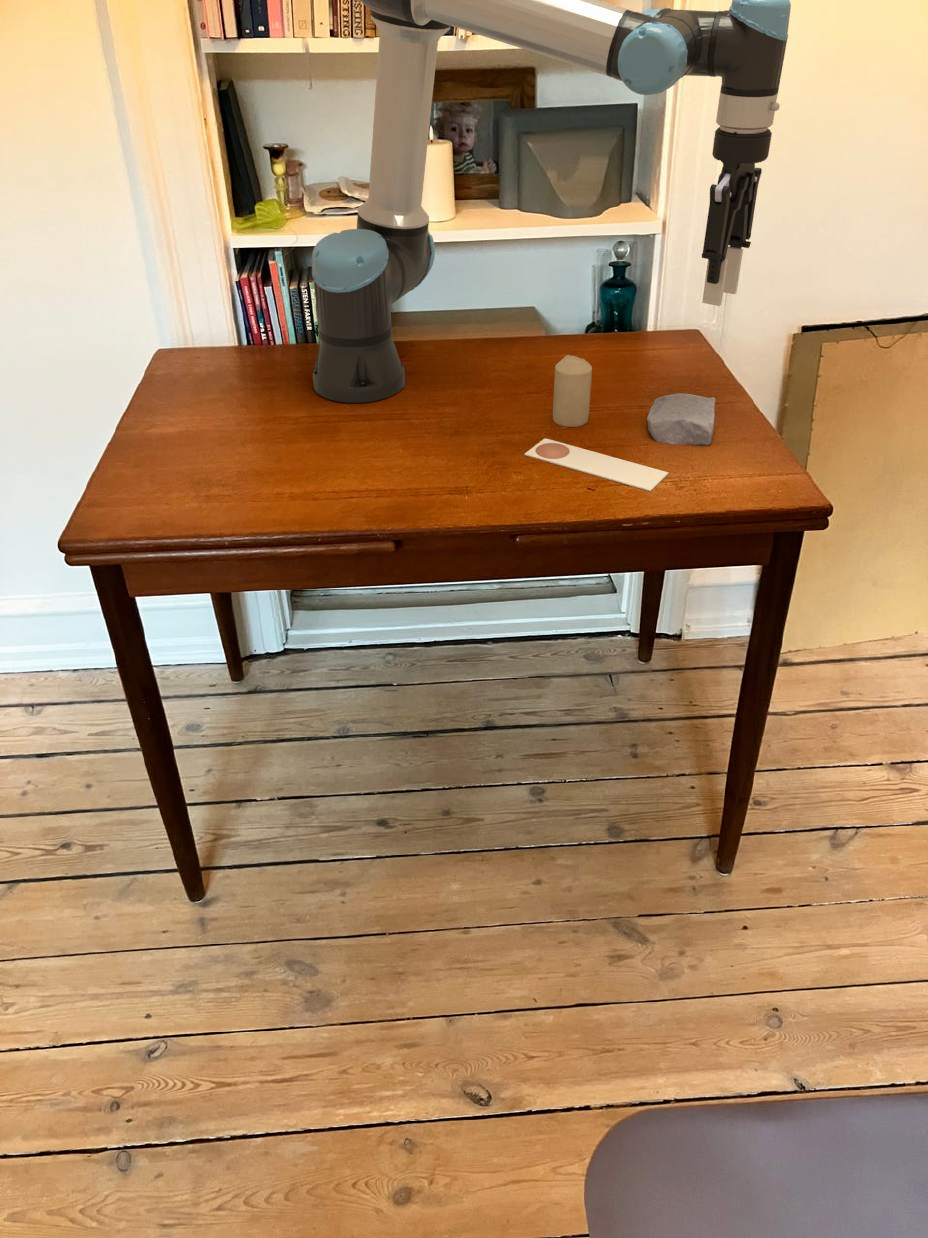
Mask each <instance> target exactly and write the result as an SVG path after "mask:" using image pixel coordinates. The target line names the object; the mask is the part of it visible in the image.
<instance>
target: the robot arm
mask: <svg viewBox="0 0 928 1238" xmlns="http://www.w3.org/2000/svg"><path fill="white" fill-rule="evenodd" d="M359 1H360V2H361V3H362V4H363V5H364V6H365V7H366V8H368V9H369V10H370V19H371V20H372V21H373V23H374V25H376V27H377V29H378V32H379V37H378V38H379V39H378V40H379V41H378V55H377V67H376V81H375V83H376V84H375V95H374V96H375V98H374V112H373V122H372V123H373V125H372V138H371V139H372V141H371V151H370V152H371V153H370V156H371V157H370V167H369V181H368V182H369V183H368V185H369V186H368V198H367V200H365V201H364V202H362V204H360V205H359V206H358V209H357V219H356V228H350V229H344V230H341V231H340V232H332V233H330V234H328V235H326V236H324V237H323V238H321V239H319V241H318V242H317V243H316V244H315V245H314V247H313V250H312V255H311V258H312V265H311V274H312V275H311V276H312V279H313V287H314V295H315V296H314V297H315V304H316V305H315V307H316V314H317V323H318V333H319V345H318V349H317V354H316V357H315V362H314V364H315V365H314V369H313V370H312V381H313V382H312V383H313V389H314V391H315V392H316V394H318V395H319V396H321V397H323V399H327V400H330V401H334V402H339V403H340V402H341V403H347V404H348V403H350V404H351V403H353V404H354V403H355V404H356V403H359V404H360V403H369V402H376V401H380V400H384V399H387V398H391V397H392V396H394V395H396V394H397V393H400V391H401V390H402V389H404V387H405V385H406V376H405V368H404V365H403V363H402V362H401V359H400V357H399V354H398V353H399V352H398V350H397V348H396V344H395V343H394V342H395V341H394V340H393V333H392V313H391V305H393V304H395V302H397V301H398V300H399V299H402V298H403V297H404V296H405V295H407V294H408V293H410V292H411V291H413V290H414V289H416V288H417V287H419V285H421V284H422V282H423V281H424V280H425V279H426V278H427V276H428V275H429V274H430V271H431V270H432V267H433V264H434V261H435V253H436V249H435V248H436V247H435V241H434V238H433V235H432V234H430V232H429V223H430V216H429V214H428V213H427V212H426V211H425V209H424V207H422V201H423V192H424V183H425V172H426V163H427V162H426V161H427V154H428V153H427V151H428V143H429V133H430V126H431V125H430V123H431V114H432V103H433V96H434V95H433V94H434V87H435V86H434V85H435V76H436V74H435V73H436V67H437V66H436V64H437V56H438V45H439V41H440V39H441V38H442V37H443V36H444V35H445V34H447V32H449V31H450V29H451V27H454V28H456V29H460V30H463V31H466V32H468V33H472V34H475V35H478V36H482V37H485V38H487V39H490V40H494V41H498V42H500V43H504V44H507V45H509V46H513V47H516V48H519V49H522V50H526V51H527V52H532V53H534V54H539V55H541V56H545V57H546V58H547V57H548V58H551V59H554V60H556V61H560V62H563V63H567V64H569V65H573V66H575V67H579V68H582V69H585V70H588V71H591V72H594V73H597V74H600V75H603V76H607V77H610V78H612V79H615V80H617V81H620V82H623V84H624V85H625V86H626V87H627V88H628V89H629V90H630V91H632V92H633V93H635V94H637V95H642V96H650V95H657V94H660V93H661V94H662V93H663V92H665V91H667V90H669V89H670V88H672V87H673V86H674V85H676V83H677V82H679V80H681V79H682V78H683V77H685V76H687V77H688V76H689V77H695V76H698V77H711V78H712V77H713V78H716V77H720V78H721V85H720V92H719V96H718V97H719V98H718V104H717V105H718V107H717V111H716V120H715V122H716V124H717V126H719V127H717V129H716V130H715V131H714V138H713V147H712V157H713V159H715V160H716V161H720V162H721V163H722V168H721V172H720V174H719V175H718V180H717V184H713V183H712V184H711V186H710V188H709V206H708V213H707V219H706V227H705V236H704V241H703V247H702V253H701V258H702V259H706V260H707V264H706V271H705V279H704V286H703V294H702V300H701V303H702V304H708V305H712V306H718V307H720V306H721V305H722V302H723V297H724V293H725V294H732V295H736V294H737V291H738V287H739V278H740V272H741V267H742V261H743V260H742V259H743V252H744V248H745V249H750V247H751V245H752V244H751V241H749V240H750V239H751V236H752V229H753V224H754V223H753V221H754V216H755V209H756V202H757V196H758V195H757V194H758V189H759V182H760V179H761V176H762V172H763V171H762V168H761V167H756V164H759V163H763V162H764V161H766V160H767V159H768V157H769V153H770V147H771V141H772V134H773V133H772V131H771V129H769V128H770V127H771V126H773V124H774V120H775V119H774V118H775V114H776V112H778V110H779V109H780V103H778V102H777V100H778V95H779V89H780V84H781V78H782V72H783V65H784V59H785V54H786V49H787V44H788V38H789V33H788V32H789V23H790V17H791V7H792V4H791V0H732V1H731V5H730V7H729V10H719V11H718V10H717V11H715V10H714V11H713V10H712V11H711V10H691V9H690V10H689V9H673V8H672V9H671V8H670V7H664V8H659V9H658V8H656V9H655V8H654V9H645V10H644V11H642V12H639V11H634V10H630V9H629V8H625V7H622V6H619V5H615V4H612V3H610V2H606V1H602V0H359Z"/></svg>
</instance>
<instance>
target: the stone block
mask: <svg viewBox="0 0 928 1238" xmlns="http://www.w3.org/2000/svg"><path fill="white" fill-rule="evenodd" d="M715 403H716V398H715V397H706V396H702V395H695V394H693V393H692V394H691V393H680V392H677V393H673V394H664V395H663V396H659V397H657V398H655V399H654V401H653V405H652V406H651V408H650V409H649V412H648V415H647V419H646V420H647V428H648V432H649V433H650V435H651V437H652V439H653V440H654V441H655V442H658V443H664V444H670V445H691V446H692V445H693V446H698V445H699V446H710V445H711V443H712V439H713V433H714V425H715V405H716V404H715Z"/></svg>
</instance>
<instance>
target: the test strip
mask: <svg viewBox="0 0 928 1238" xmlns="http://www.w3.org/2000/svg"><path fill="white" fill-rule="evenodd" d="M524 456H527V457H529V458H533V459H537V460H541V461H543V462H545V463H546V462H547V463H550V464H553V465H557V466H560V467H564V468H567V469H571V470H575V471H578V472H581V473H584V474H589V475H591V476H595V477H599V478H601V479H605V480H609V481H611V482H616V483H619V484H623V485H627V486H630V487H633V488H637V489H640V490H643V491H647V492H652V491H653V490H654V488H656V487H657V485H659V484H660V483H661V482H662V481H663V480H664V479H665V478H666V477H667V476H669V474H670V473H669V472H667V471H665V470H661V469H657V468H655V467H650V466H646V465H643V464H640V463H636V462H632V461H628V460H626V459H621V458H617V457H614V456H611V455H607V454H603V453H600V452H596V451H592V450H588V449H584V448H582V447H578V446H575V445H571V444H567V443H564V442H561V441H558V440H557V441H556V440H553V439H550V438H543V439H542V440H540V441H539V442H538V443H537V444H535V445H534V446H533V447H531V448H530V449H529V450H528V451H526V452H525V453H524Z"/></svg>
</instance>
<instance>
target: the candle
mask: <svg viewBox="0 0 928 1238" xmlns="http://www.w3.org/2000/svg"><path fill="white" fill-rule="evenodd" d="M592 371H593V366H592V365H591V364H590V363H589V362H588V361H587V360H586V359H584V358H583V357H582V358H580V357H578V356H575V355H569V354H566V355H565V356H564V357H563V358H562V359H561V360H560V361H559V362H558V363H556V364H555V366H554V383H553V384H554V385H553V386H554V387H553V404H552V405H553V407H552V420H553V422H554V423H555V424H556V425H558V426H562V427H566V428H576V427H577V428H578V427H581V426H584V425H586V424H587V423H588V421H589V416H590V401H591V388H592V375H593V374H592V373H593V372H592Z"/></svg>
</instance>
